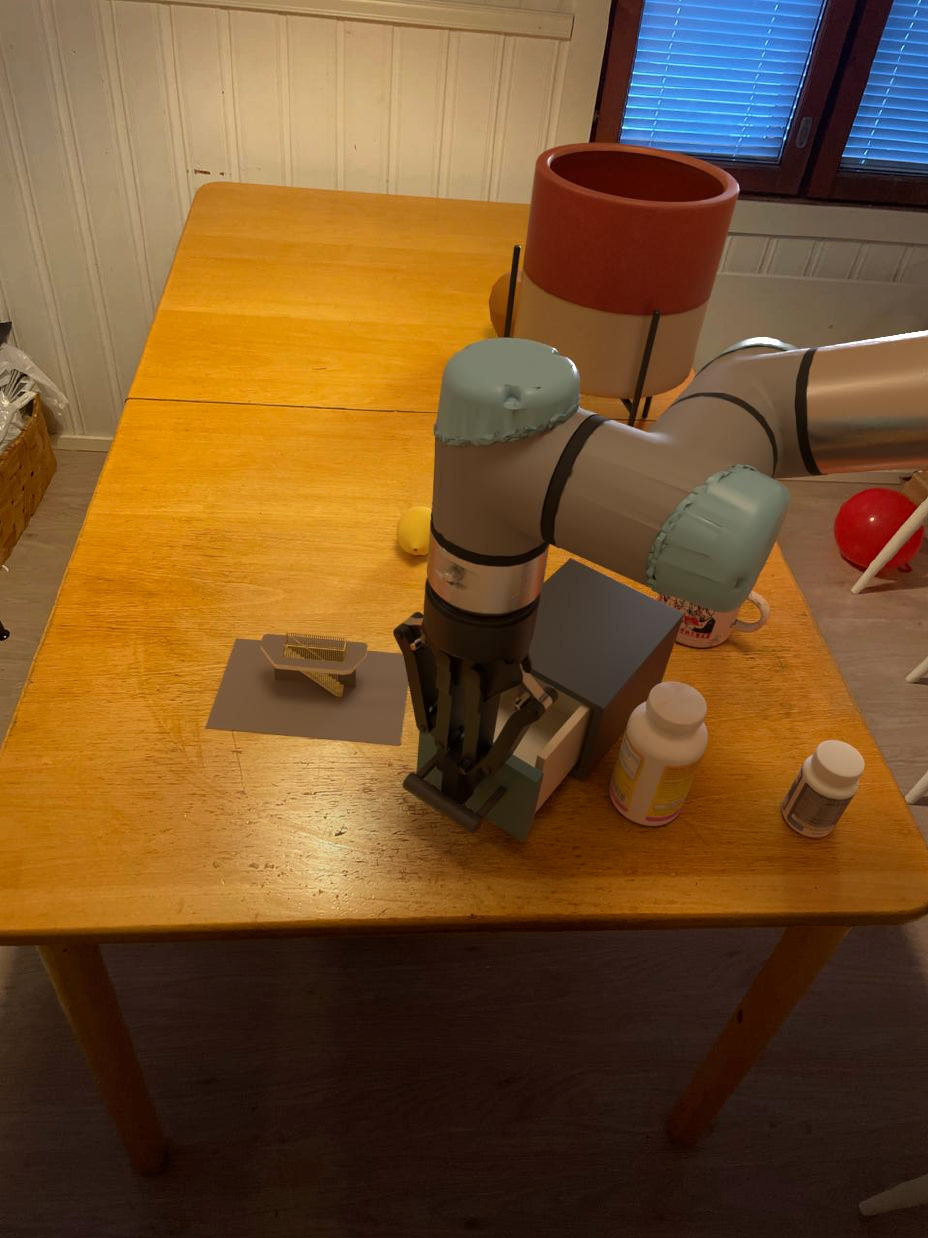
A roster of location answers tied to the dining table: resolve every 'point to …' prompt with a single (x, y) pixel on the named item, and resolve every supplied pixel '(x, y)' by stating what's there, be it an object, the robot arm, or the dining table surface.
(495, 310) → the apple
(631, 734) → the supplement bottle
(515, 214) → the dining table surface
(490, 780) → the teal drawer
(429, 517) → the lemon
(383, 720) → the platform
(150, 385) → the dining table surface
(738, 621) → the teacup with lid
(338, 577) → the dining table surface
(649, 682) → the drawer cabinet
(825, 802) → the pill bottle
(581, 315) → the planter
